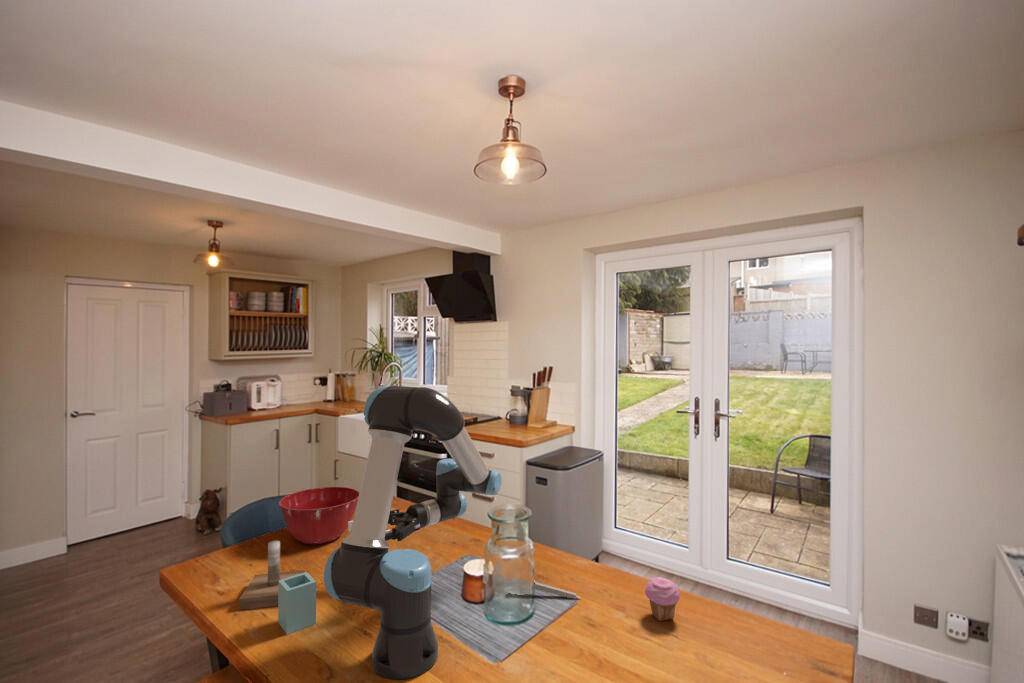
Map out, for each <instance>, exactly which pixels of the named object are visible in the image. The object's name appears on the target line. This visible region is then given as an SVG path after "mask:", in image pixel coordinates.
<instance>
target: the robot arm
mask: <svg viewBox="0 0 1024 683" xmlns="http://www.w3.org/2000/svg"><path fill="white" fill-rule="evenodd" d="M363 416H364V418H363V419H364V421H365V423H366V425H368V431H367V432H368V434H369V436H370V437H371V443H370V447H369V452H368V455H367V459H366V465H365V469H364V473H363V476H362V477H363V478H362V482H361V485H360V490H359V498H358V502H357V506H356V509H355V512H354V515H353V518H352V520H351V521H349V522H348V527H347V529H348V532H350V533H349V534H348V535H347V536H346V537H344V538H343V539H342V541H341V543H340V547H337V548H335V549H334V550H333V551H332V552H331V554H330V556H329V557H328V558H327V560H326V563H325V565H324V566H325V567H324V570H323V585H324V588H325V590H326V592H327V594H328V595H329V597H331V598H333V599H335V600H338V601H340V602H341V603H344V604H352V605H357V606H360V607H364V608H367V609H373V610H376V611H379V612H380V613H379V614H380V617H379V618H380V619H379V620H380V622H379V623H380V624H379V625H380V626H379V630H378V633H377V636H376V639H375V642H374V646H373V648H372V653H371V654H372V655H371V665H372V668H373V670H374V671H375V673H377V674H378V675H380V677H384V678H387V679H391V680H405V679H411V678H416V677H418V676H420V675H423V674H424V673H426V672H427V671H428V670H430V669H431V668H432V667H433V666H434V665H435V664H436V662H437V661H438V657H439V642H438V641H439V640H438V638H437V635H436V632H435V630H434V626H433V624H432V623H433V622H432V583H433V576H432V565H431V563H430V559H429V558H428V557H427V556H426V555H425V554H424V553H423V552H420V551H418V550H415V549H412V548H411V549H410V548H404V549H401V548H399V549H398V548H397V549H393V550H390V551H389V549H390V545H389V544H388V541H391V540H393V541H396V540H397V542H401V541H403V540H404V539H406V538H407V537H409V536H410V535H411V534H413V533H414V532H417V531H420V530H421V529H423V528H425V527H432V526H433V525H435V524H439V523H442V522H446V521H450V520H453V519H456V518H458V517H461V516H462V515H464V514H465V513H466V512H467V509H468V508H467V507H468V503H467V500H466V496H465V495H464V494H463V493H462V492H465V493H471V494H472V493H473V494H480V495H485V496H487V495H489V496H496V495H497V494H498V493H499V492H500V491H501V487H502V483H503V482H502V474H501V472H499V471H497V470H494V469H492V470H490V469H489V467H488V465H487V464H486V462H485V460H484V459H483V457H482V455H481V453H480V452H479V450H478V447H477V446H476V445H475V444H474V441H473V439H472V438H471V436H470V435H469V432H468V431H467V429H466V428H465V419H464V416H463V415H462V413H461V412H460V410H459V409H458V407H457V406H456V405H455V404H454V403H453V401H451V400H450V399H449V398H447V396H445V395H443V393H441V392H440V391H437V390H435V389H433V388H430V387H425V386H422V387H421V386H420V387H419V386H418V387H417V386H405V385H404V386H403V385H402V386H401V385H386V386H385V385H384V386H379V387H377V388H376V389H374V390H372V392H370V394H369V395H368V396H367V399H366V401H365V403H364V407H363ZM413 431H420V432H425V433H428V434H431V435H432V437H433V438H434V439H435V440H436V441H439V442H440V443H442V445H443V446H444V448H445V449H446V451H447V452H448V454H449V455H450V457H451V458H444V459H443V458H442V459H439V461H437V463H436V473H435V476H436V479H435V480H436V498H433V499H429V500H425V501H422V502H418V503H415V504H410V505H409V506H408V507H407V509H406V511H405V512H404V511H400V509H393V510H391V508H392V505H393V504H392V503H393V499H394V494H395V490H396V485H397V481H398V476H399V472H400V467H401V462H402V457H403V452H404V448H405V444H406V443H408V442H409V441H410V440H411V439H412V438H413V436H412V435H413ZM388 525H390V526H395V527H392V528H391V529H387V528H388Z"/></svg>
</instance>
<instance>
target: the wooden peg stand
mask: <svg viewBox="0 0 1024 683" xmlns="http://www.w3.org/2000/svg"><path fill="white" fill-rule="evenodd" d="M301 573H305V570H295V571H282V572H281V541H280V540H271V541H269V542H268V543H267V573H262V574H261V573H260V574H255V575H254V576H253V577H252V579H251V580H250V582H249V583H248V585H247V586H246V588H245V589H244V591H243V593H242V594H241V596H240V597H239V598H238V599H239V600H238V610H240V611H241V610H248V609H249V610H250V609H260V608H269V607H277V606H278V585H279V580H282V579H285V578H288V577H292V576H295V575H298V574H301Z"/></svg>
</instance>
